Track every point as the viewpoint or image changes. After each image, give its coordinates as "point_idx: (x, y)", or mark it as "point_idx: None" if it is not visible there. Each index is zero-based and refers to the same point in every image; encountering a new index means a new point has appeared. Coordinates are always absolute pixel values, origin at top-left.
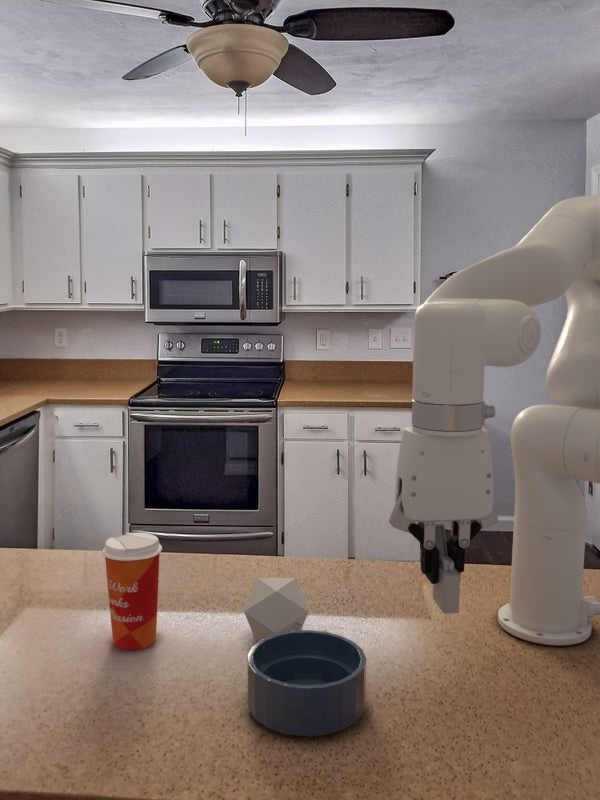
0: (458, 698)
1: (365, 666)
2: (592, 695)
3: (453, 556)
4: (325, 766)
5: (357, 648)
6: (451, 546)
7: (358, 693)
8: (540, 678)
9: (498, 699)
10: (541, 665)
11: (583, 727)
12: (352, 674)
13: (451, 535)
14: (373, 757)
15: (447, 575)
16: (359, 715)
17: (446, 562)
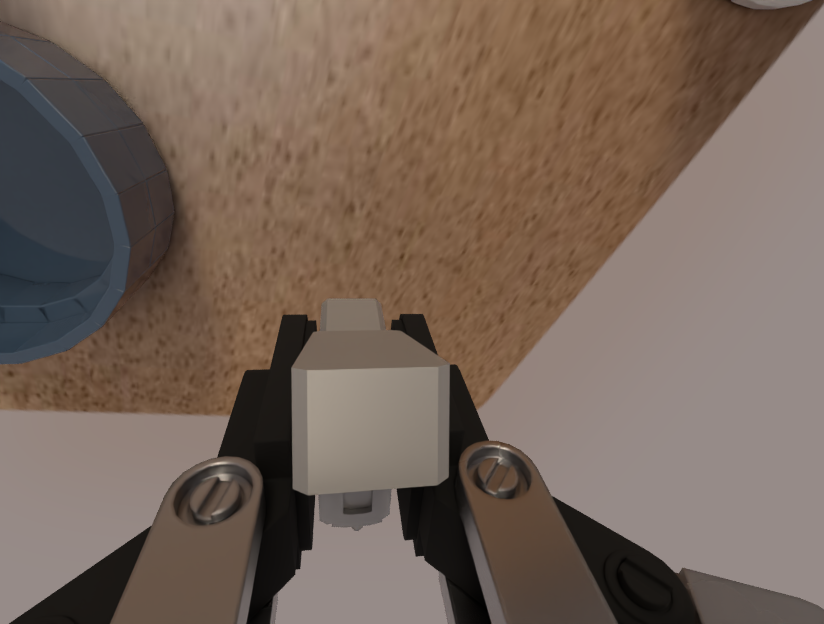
0: (391, 198)
1: (133, 260)
2: (635, 225)
3: (400, 494)
4: (100, 362)
5: (99, 185)
6: (409, 509)
7: (132, 292)
8: (592, 149)
9: (467, 213)
10: (633, 92)
11: (552, 307)
12: (91, 319)
13: (458, 479)
14: (187, 348)
15: (331, 521)
16: (157, 264)
17: (343, 524)
